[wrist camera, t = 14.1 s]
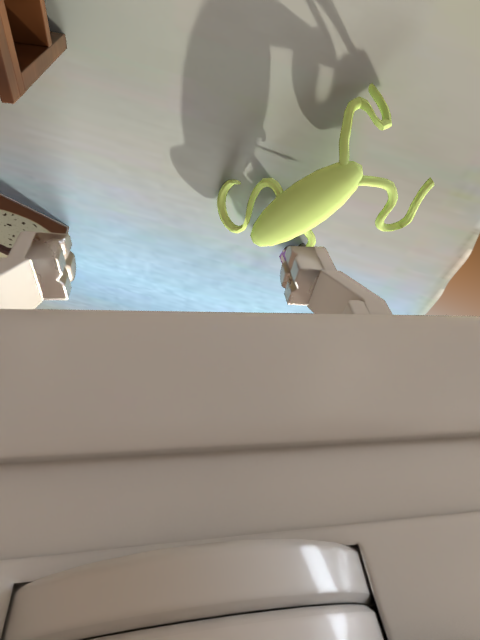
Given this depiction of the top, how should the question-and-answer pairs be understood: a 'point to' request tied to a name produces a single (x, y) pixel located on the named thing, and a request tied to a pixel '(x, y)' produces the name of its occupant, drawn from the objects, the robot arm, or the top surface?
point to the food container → (22, 223)
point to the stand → (25, 46)
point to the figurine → (320, 191)
